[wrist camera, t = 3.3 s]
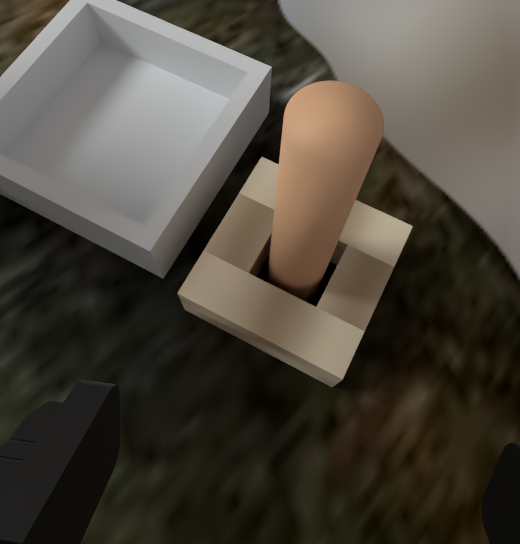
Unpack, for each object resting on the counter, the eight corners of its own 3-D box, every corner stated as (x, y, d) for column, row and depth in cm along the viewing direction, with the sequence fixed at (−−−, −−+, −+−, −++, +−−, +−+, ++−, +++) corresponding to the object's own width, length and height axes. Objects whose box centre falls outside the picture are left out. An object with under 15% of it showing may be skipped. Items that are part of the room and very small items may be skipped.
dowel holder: (184, 309, 27) (177, 293, 24) (260, 184, 30) (261, 156, 27) (332, 387, 25) (342, 379, 23) (396, 248, 28) (412, 226, 25)
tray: (-21, 183, 29) (-61, 143, 26) (101, 38, 33) (82, -14, 30) (163, 278, 27) (149, 251, 24) (268, 112, 31) (271, 66, 28)
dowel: (258, 288, 27) (266, 137, 14) (282, 245, 28) (310, 66, 15) (305, 312, 27) (360, 180, 14) (328, 268, 28) (399, 104, 15)
